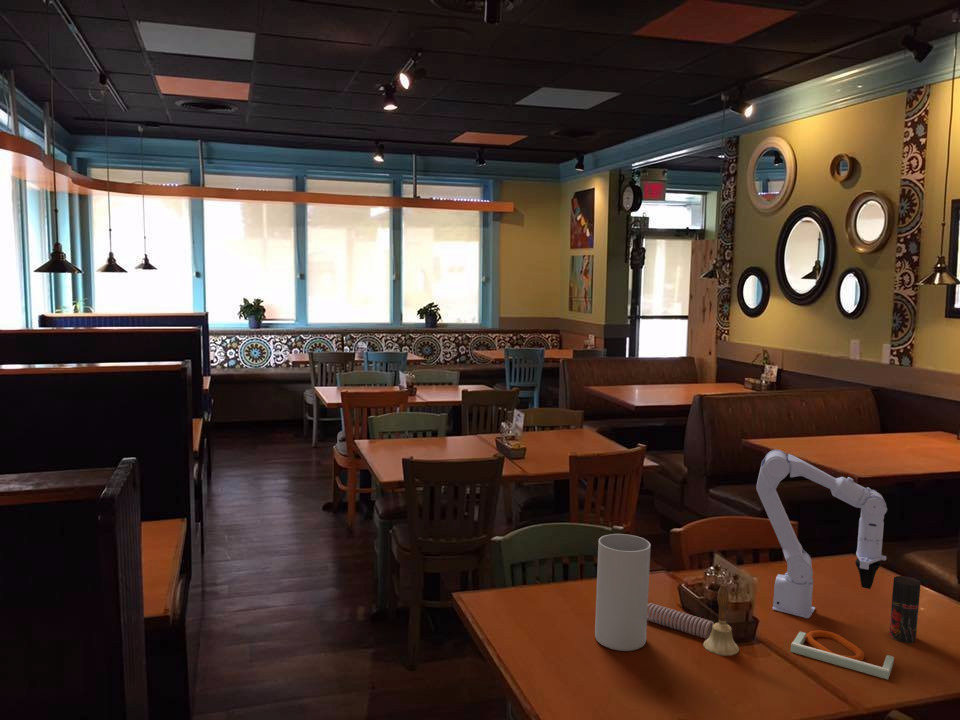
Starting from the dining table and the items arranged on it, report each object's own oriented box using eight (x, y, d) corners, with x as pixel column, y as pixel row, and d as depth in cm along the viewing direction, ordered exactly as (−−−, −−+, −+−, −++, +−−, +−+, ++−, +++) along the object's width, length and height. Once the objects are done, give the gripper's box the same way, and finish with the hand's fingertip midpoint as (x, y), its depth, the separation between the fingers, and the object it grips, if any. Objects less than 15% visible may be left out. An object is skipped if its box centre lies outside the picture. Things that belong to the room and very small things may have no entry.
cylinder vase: (650, 635, 190) (655, 539, 187) (639, 657, 179) (644, 555, 176) (602, 624, 195) (606, 531, 192) (588, 645, 184) (592, 546, 181)
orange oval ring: (830, 627, 193) (874, 655, 179) (829, 633, 194) (873, 662, 179) (797, 631, 191) (839, 660, 177) (796, 637, 191) (838, 667, 177)
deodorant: (919, 644, 188) (924, 586, 187) (893, 641, 189) (898, 583, 188) (910, 633, 194) (915, 577, 192) (885, 630, 195) (890, 575, 193)
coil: (717, 619, 190) (650, 600, 201) (710, 624, 186) (643, 604, 197) (715, 638, 190) (649, 617, 201) (708, 642, 186) (641, 621, 197)
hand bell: (721, 658, 179) (725, 594, 177) (696, 643, 186) (699, 581, 184) (746, 651, 183) (750, 588, 181) (720, 636, 190) (724, 575, 188)
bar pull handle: (790, 651, 183) (791, 643, 183) (799, 638, 190) (799, 630, 190) (888, 679, 171) (888, 671, 170) (893, 664, 178) (893, 656, 178)
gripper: (883, 548, 190) (879, 600, 191) (891, 533, 201) (887, 582, 203) (852, 542, 194) (848, 593, 195) (862, 528, 206) (858, 576, 207)
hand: (866, 587), depth 199 cm, fingers closed
